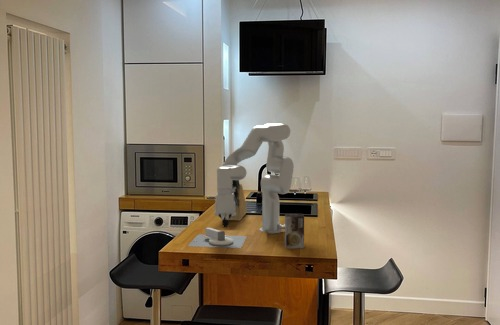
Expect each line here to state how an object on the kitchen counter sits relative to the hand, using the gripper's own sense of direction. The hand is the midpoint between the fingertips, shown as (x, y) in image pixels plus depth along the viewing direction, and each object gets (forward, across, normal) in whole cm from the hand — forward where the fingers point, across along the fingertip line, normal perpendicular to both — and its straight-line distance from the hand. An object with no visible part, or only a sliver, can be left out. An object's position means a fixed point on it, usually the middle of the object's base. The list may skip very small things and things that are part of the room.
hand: (225, 226), depth 257 cm
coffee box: (+9, -35, +4) cm, 36 cm away
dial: (+6, +3, +5) cm, 8 cm away
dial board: (+8, +3, +4) cm, 9 cm away
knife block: (+10, +5, -59) cm, 60 cm away
